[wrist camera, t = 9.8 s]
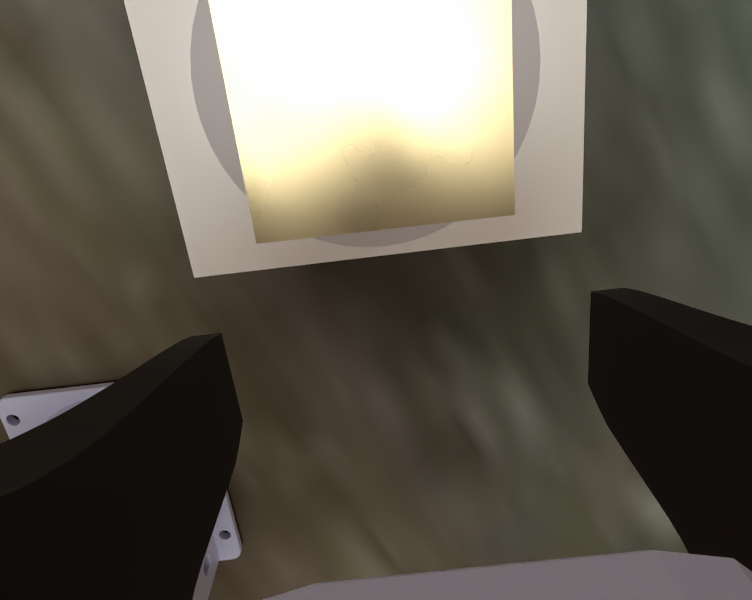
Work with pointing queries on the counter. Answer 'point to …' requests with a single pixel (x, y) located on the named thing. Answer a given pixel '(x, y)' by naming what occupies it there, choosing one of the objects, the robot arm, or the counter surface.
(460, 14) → the block
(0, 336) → the counter surface
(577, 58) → the kitchen scale
